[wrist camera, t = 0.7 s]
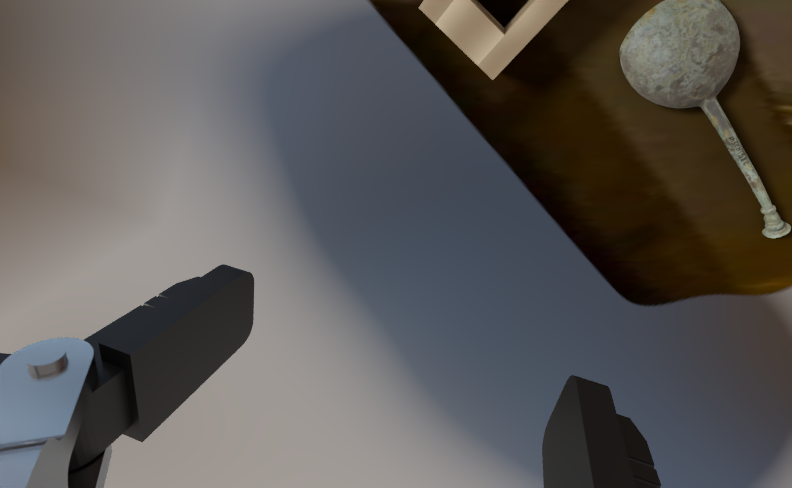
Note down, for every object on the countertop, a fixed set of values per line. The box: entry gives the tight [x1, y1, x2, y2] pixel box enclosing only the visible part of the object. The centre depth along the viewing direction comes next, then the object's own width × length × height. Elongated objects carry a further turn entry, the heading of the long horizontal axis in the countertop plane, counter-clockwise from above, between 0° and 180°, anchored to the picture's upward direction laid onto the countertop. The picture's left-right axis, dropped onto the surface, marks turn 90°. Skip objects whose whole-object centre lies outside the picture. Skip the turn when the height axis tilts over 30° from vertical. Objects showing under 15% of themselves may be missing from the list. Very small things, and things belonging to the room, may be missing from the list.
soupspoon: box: [619, 0, 791, 238], centre depth 31 cm, size 22×3×7 cm
